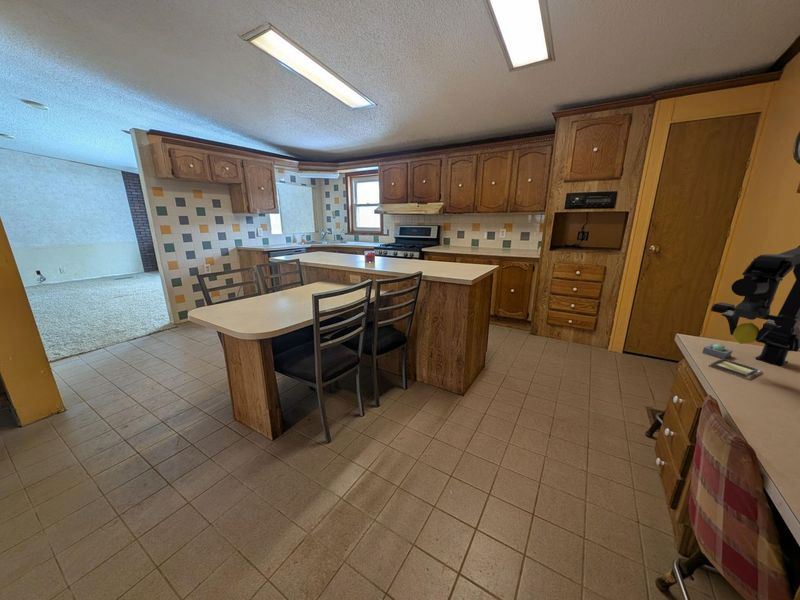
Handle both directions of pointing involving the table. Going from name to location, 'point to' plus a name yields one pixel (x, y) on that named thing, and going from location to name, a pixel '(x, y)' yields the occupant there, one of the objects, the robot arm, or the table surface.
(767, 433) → the table surface
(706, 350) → the button housing
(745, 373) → the grey tray
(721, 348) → the button
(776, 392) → the table surface
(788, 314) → the robot arm
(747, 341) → the lemon
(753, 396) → the table surface
